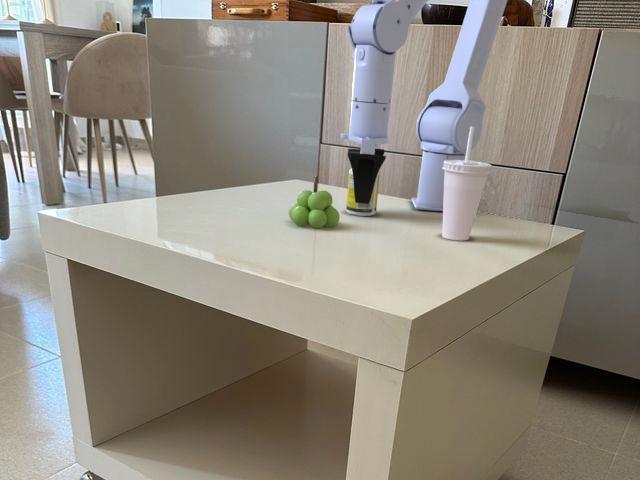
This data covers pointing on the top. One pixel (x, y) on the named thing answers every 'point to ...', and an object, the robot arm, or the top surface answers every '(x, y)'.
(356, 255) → the top surface
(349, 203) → the supplement bottle
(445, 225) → the smoothie
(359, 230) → the top surface
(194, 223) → the top surface
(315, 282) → the top surface
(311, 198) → the grapes
